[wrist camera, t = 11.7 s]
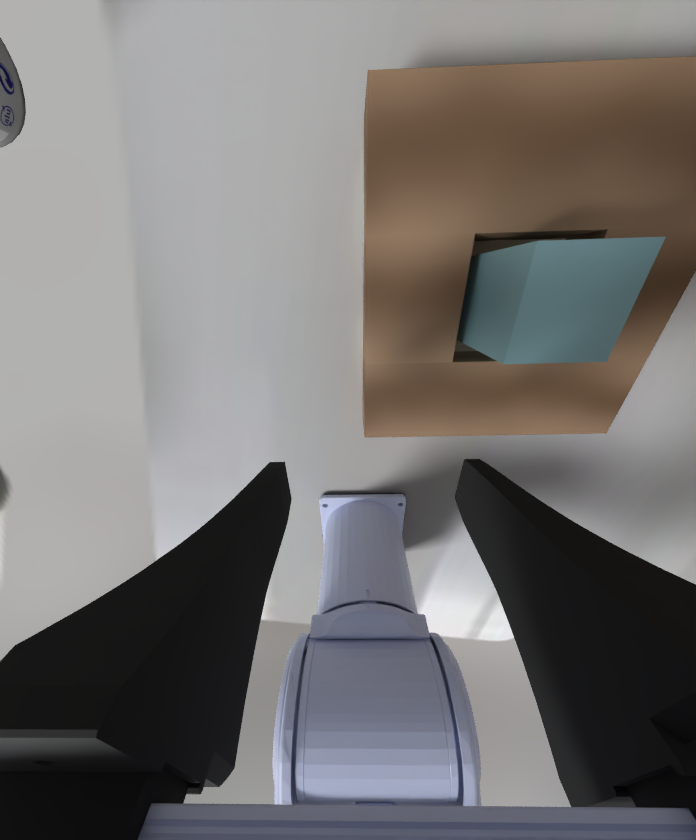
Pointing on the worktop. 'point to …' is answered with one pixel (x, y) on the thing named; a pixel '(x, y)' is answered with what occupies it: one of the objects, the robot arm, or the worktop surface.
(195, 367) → the worktop surface
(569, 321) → the peg
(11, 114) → the energy drink
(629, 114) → the socket block
